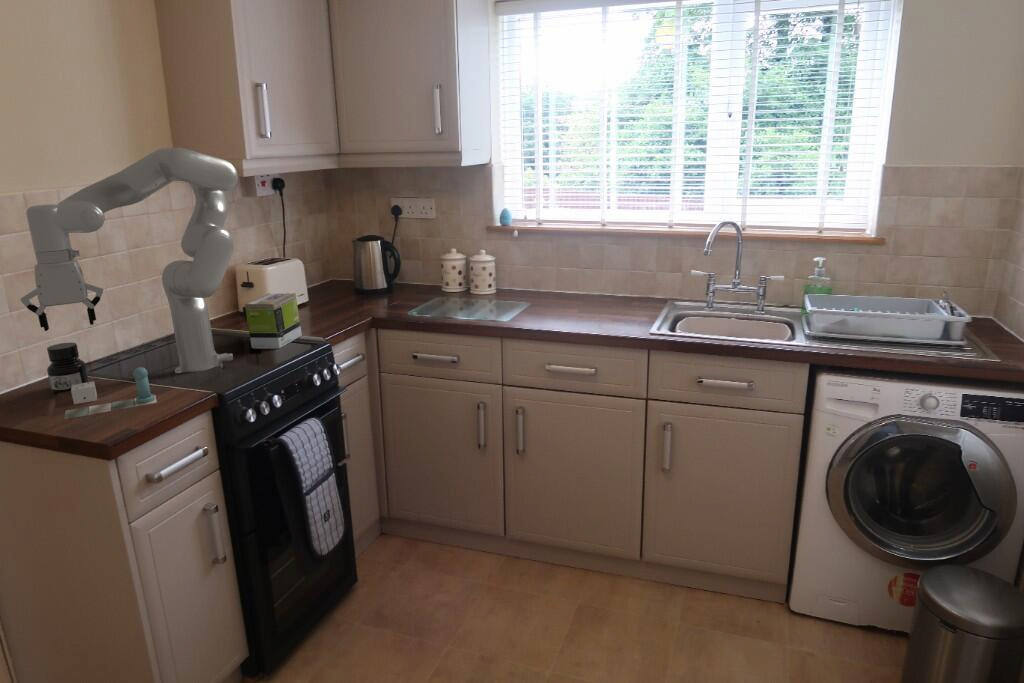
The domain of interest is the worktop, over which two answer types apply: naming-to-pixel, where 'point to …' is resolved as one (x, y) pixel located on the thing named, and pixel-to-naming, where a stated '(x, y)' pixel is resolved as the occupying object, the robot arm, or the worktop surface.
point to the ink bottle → (65, 367)
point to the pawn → (142, 385)
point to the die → (84, 392)
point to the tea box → (273, 320)
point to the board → (104, 408)
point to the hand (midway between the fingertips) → (69, 326)
